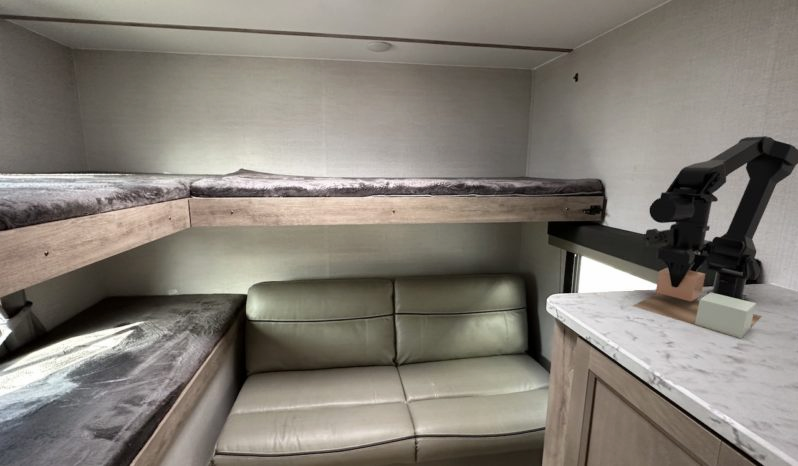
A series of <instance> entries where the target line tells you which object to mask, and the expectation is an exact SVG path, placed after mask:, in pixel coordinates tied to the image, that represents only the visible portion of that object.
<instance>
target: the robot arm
mask: <svg viewBox="0 0 798 466" xmlns="http://www.w3.org/2000/svg"><path fill="white" fill-rule="evenodd" d="M745 165H746V166H745ZM797 165H798V148H796V147H795V145H792V144H790V143H785V142H782V141H778V140H775V139H774V138H772V137H770V136H767V135H766V136H765V135H761V136H747V137H743V138H740V139H739V140H738V142H737V143H736V144H734V145H733V146H730V147H729V148H727V149H725V150H724V151H722V152H721V153H719V154H718V155H716V156H713V158H711V159H709V160H707V161H702V162H697V163H693V164H689V165H687V166H685V167H683V168H681V170H680V171H679V173H678V174H677V175H676V176H675V178H674V179H673V181H672V182H671V184H670V185H669V187H668V188H667V190H666V191H665V192H664V191H663V192H661V194H660V197H659V198H656V199H655V200H654V201H653V202H652V203H651V205H650V206H649V215H650V217H651V219H652V220H653V221H654V222H657V223H661V224H666V223H667V224H668V223H673V224H671V225H670V227H669V229H663V230H658V229H657V228H652V229H646V230H645V233H644V234H643V237H642V240H643V241H644V242H646V244H647V247H650V246H654V245H660V244H666V245H664V246H661V247H660V248H657V249H656V253H655V258H656V259H659V260H660V261H661V262H664V263H665V265H666V266H667V268H668V269H669V274H670V280H671V285H672V287H676V288H677V287H678V286H679V285H680V283H681V282H682V281H683V279H684V278H685V276H686V275H687V273H688V272H689V270H691V271H695V272H698V271H699V270H700V268H701V267H702V266H703V264H704V263H706V270H708V271H712V272H716V273H715V277H714V282H713V287H712V289H711V290H709V291H707V292H706V293H707V294H709V293H710V292H711V293H715V294H719V295H724V296H728V297H732V298H736V299H740V300H744V301H745V299H746V298H747V295H746V294H744V290H745V286H746V282H747V280H752V281H755V280H757V279H758V277H759V276H760V273H761V271H762V269H761V268H760V266H759V264H758V262H757V260H756V254H757V248H756V246H755V243H754V241H753V239H754V236H755V234H756V231H757V229H758V227H759V225H760V222H761V220H762V218H763V216H764V214H765V212H766V209H767V206H768V204H769V202H770V200H771V197H772V195H773V193H774V192H775V189H776V186H777V185H778V183H780V182H781V181H783V180H784V179H786V178H787V177H789V176H790V175H791V174H792V173H793V171H794V169H795V168H796V166H797ZM743 166H745V169H746V173H747V175H748V178H749V180H748V183H747V184H746V187H745V189H744V191H743V194H742V196H741V199H740V201H739V203H738V205H737V208H736V210H735V213H734V215H733V217H732V220H731V222H730V224H729V226H728V228H727V231H726V233H724V234H723V235H721V236H715V237H713V238H712V240H707V239H706V233H707V231H710V225H708V223H709V219H710V218H709V217H710V213H711V207H712V203H716V202H718V197H717V196H715V195H714V193H715V192H717V191H718V190H719V189H720V188H721V187H722V186H724V185H725V184H726V183H727V177H728V176H729V175H730V174H732V173H733V172H735V171H737V170H738V169H740V168H741V167H743ZM704 252H706V253H704ZM707 294H706V295H707Z"/></svg>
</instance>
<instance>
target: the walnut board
mask: <svg viewBox="0 0 798 466" xmlns="http://www.w3.org/2000/svg"><path fill="white" fill-rule="evenodd" d="M699 301H700V299H697V298H696V299H694V300H693V301H687V300H683V299H680V298H676V297H672V296H668V295H665V294H661V293H657V292H655V293H654V294H653V295H651V296H649V297H647V298H645V299H643V300H641V301H639V302H637V303H635V304H633V305H632V307H635V308H638V309H641V310H644V311H648V312H651V313H653V314H657V315H660V316H664V317H667V318H670V319H674V320H676V321H679V322H682V323H686V324H690V325H693V326H697V327H700V328H703V329H705V330H710V331H713V332H716V333H719V334H722V335H725V336H729V337H732V338H734V339H739V340H741V339H742V338H743V337H744V336H745V335H746V334H747V332H746V333H745V334H744V335H743V336H742V338H739V337H735V336H732V335H729V334H726V333H722V332H719V331H716V330H712V329H709V328H706V327H703V326H699V325H696V324H695V321H696V316H697V311H698V306H699ZM762 317H763V316H762V315H760V314H756V313H754V314H753V318H752V322H751V327H750V329H751V328H752V327H754V326H755V324H756V323H757V322H758V321H759V320H760V319H761V318H762Z"/></svg>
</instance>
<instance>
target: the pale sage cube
mask: <svg viewBox="0 0 798 466" xmlns="http://www.w3.org/2000/svg"><path fill="white" fill-rule="evenodd" d="M699 300H700V301H699V306H698V311H697V316H696V321H695V324H696V325H699V326H703V327H706V328H709V329H712V330H716V331H719V332H722V333H726V334H729V335H732V336H735V337H739V338H741V339H742V338H743V337H744V336H745V335H746V334H747V332H749V330H751V328H752V327H751V322H752V318H753V314H755V309H756V304H757V303H756V302H752V301H748V300H745V299H744V300H740V299H736V298H732V297H728V296H724V295H719V294H715V293H711V292H710V293H709V294H706V295H704V296H703V297H701V298H700V299H699ZM696 325H695V326H696ZM699 326H698V327H699ZM750 327H751V328H750ZM706 328H705V329H706ZM709 329H708V330H709ZM712 330H711V331H712ZM719 332H718V333H719ZM722 333H721V334H722ZM745 333H746V334H745ZM744 334H745V335H744ZM743 335H744V336H743ZM732 336H731V337H732ZM742 336H743V337H742ZM735 337H734V338H735Z"/></svg>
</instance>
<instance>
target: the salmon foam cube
mask: <svg viewBox="0 0 798 466" xmlns="http://www.w3.org/2000/svg"><path fill="white" fill-rule="evenodd" d="M705 278H706V273H704V272H701V271H700V272H699V271H697V272H695V271H691V270H689V272H688V273H687V275H686V276H685V278H684V279H683V281H682V282H681V283H680V285H679V286H678V287H677V288H676V287H672V285H671V280H670V274H669V269H668V267H665V268H663V269H661V270H659V273H658V277H657V282H656V288H655V293H661V294H665V295H668V296H672V297H676V298H680V299H683V300H687V301H693V300H694V299H697V298H699V297H701V296H702V294H703V289H704V284H705Z"/></svg>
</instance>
